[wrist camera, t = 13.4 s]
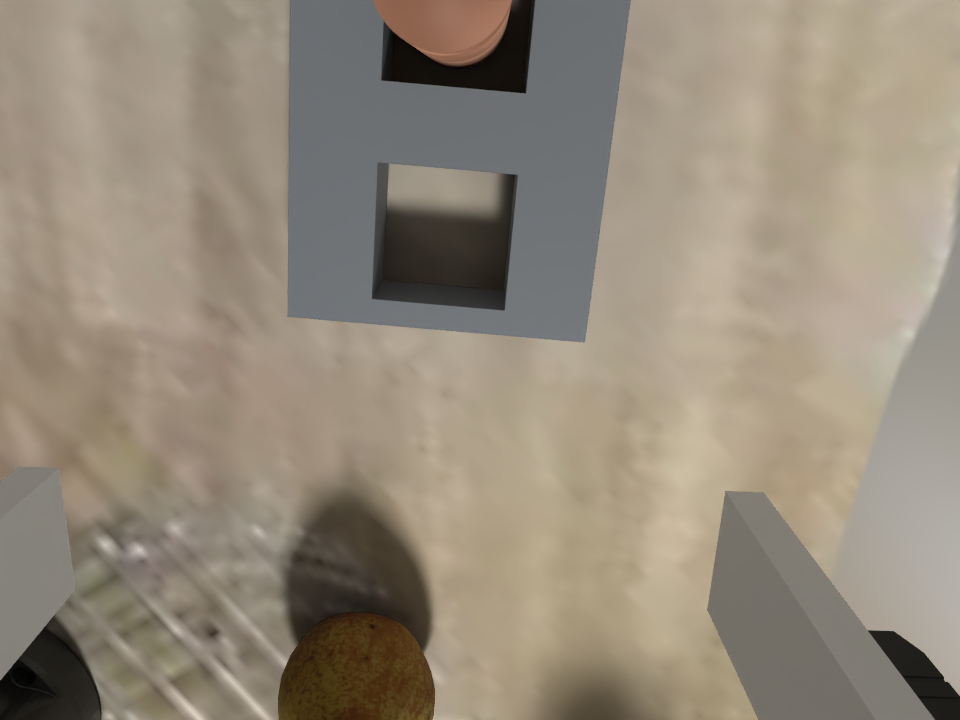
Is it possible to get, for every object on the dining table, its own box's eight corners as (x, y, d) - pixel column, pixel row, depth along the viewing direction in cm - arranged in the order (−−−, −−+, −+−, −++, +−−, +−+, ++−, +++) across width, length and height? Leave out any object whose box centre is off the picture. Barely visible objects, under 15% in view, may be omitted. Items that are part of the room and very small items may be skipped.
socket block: (306, 296, 41) (287, 316, 37) (313, -102, 35) (291, -127, 31) (576, 319, 41) (584, 342, 37) (626, -73, 35) (643, -94, 31)
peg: (409, 64, 37) (363, 44, 24) (414, -39, 36) (369, -122, 22) (502, 72, 37) (509, 57, 24) (511, -30, 36) (523, -108, 22)
